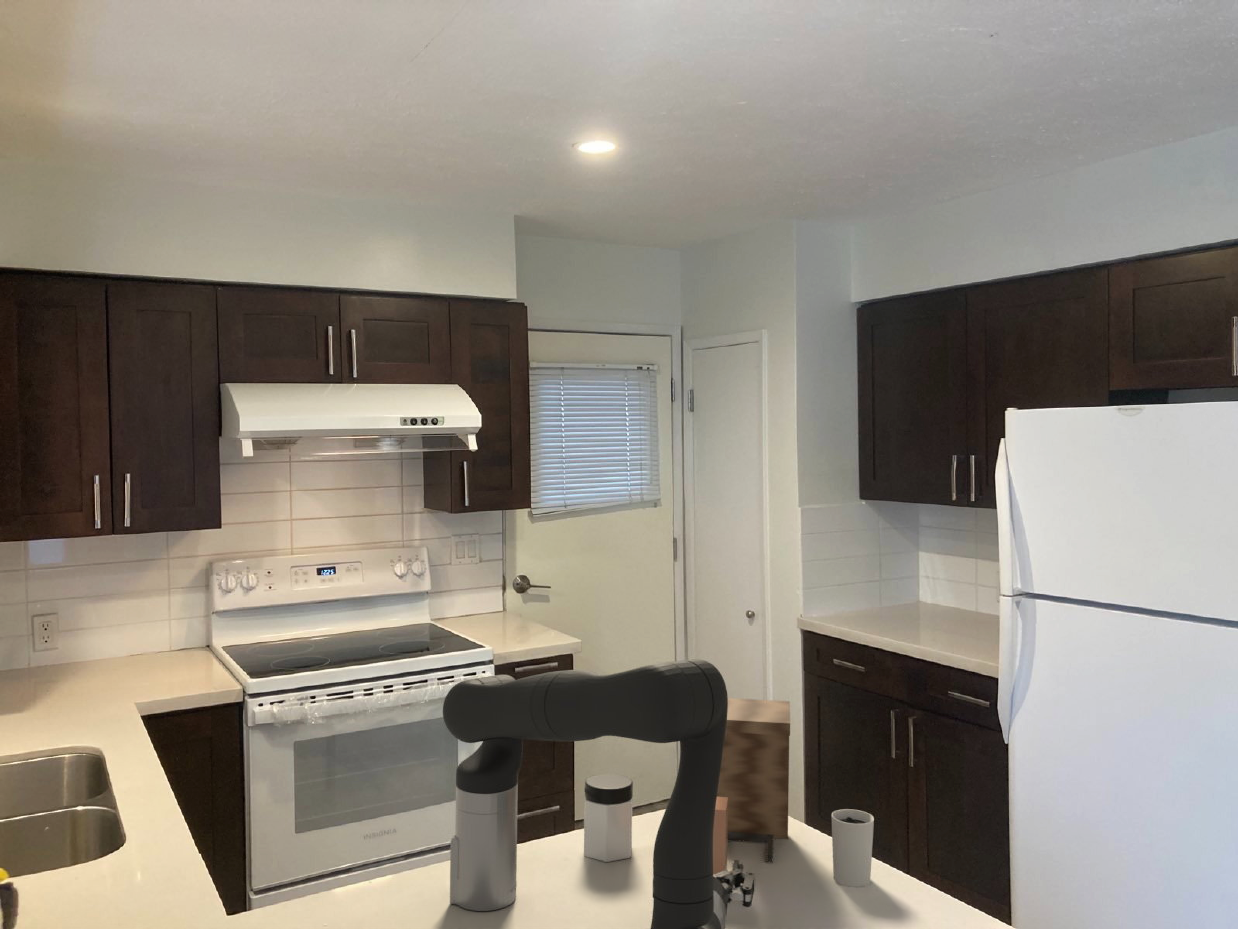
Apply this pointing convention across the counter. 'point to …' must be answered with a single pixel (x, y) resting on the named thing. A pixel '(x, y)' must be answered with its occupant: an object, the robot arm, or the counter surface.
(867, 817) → the white cup
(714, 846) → the tall terracotta pillar
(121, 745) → the counter surface
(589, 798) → the jar
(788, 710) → the shelf
